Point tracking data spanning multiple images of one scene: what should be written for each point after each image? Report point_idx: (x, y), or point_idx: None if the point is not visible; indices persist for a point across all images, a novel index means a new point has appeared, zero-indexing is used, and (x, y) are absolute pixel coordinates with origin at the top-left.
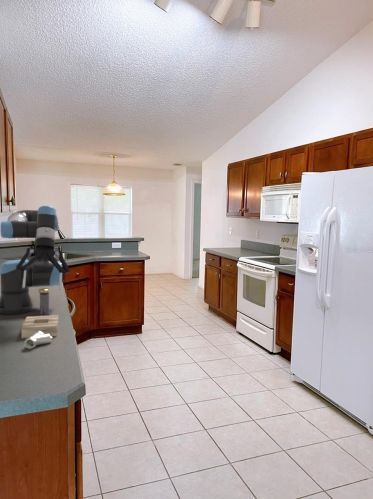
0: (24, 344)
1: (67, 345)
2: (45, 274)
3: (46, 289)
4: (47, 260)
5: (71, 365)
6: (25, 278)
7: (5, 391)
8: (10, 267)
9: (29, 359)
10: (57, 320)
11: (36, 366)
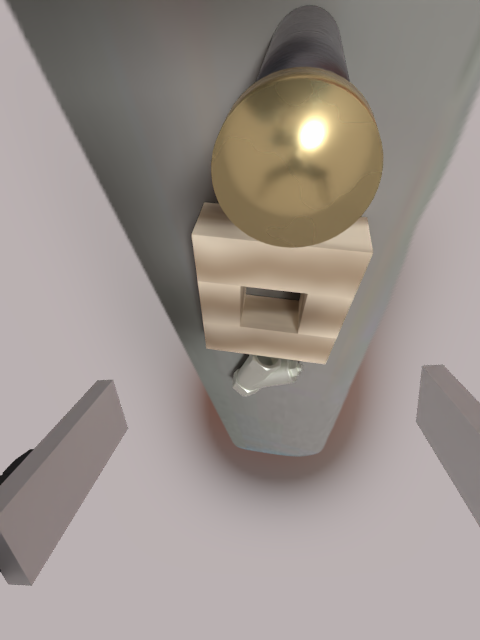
0: (233, 378)
1: (336, 383)
2: None
3: (323, 193)
4: None
5: (320, 430)
6: (90, 485)
7: (232, 438)
8: None
9: (251, 401)
10: (340, 325)
11: (265, 418)
